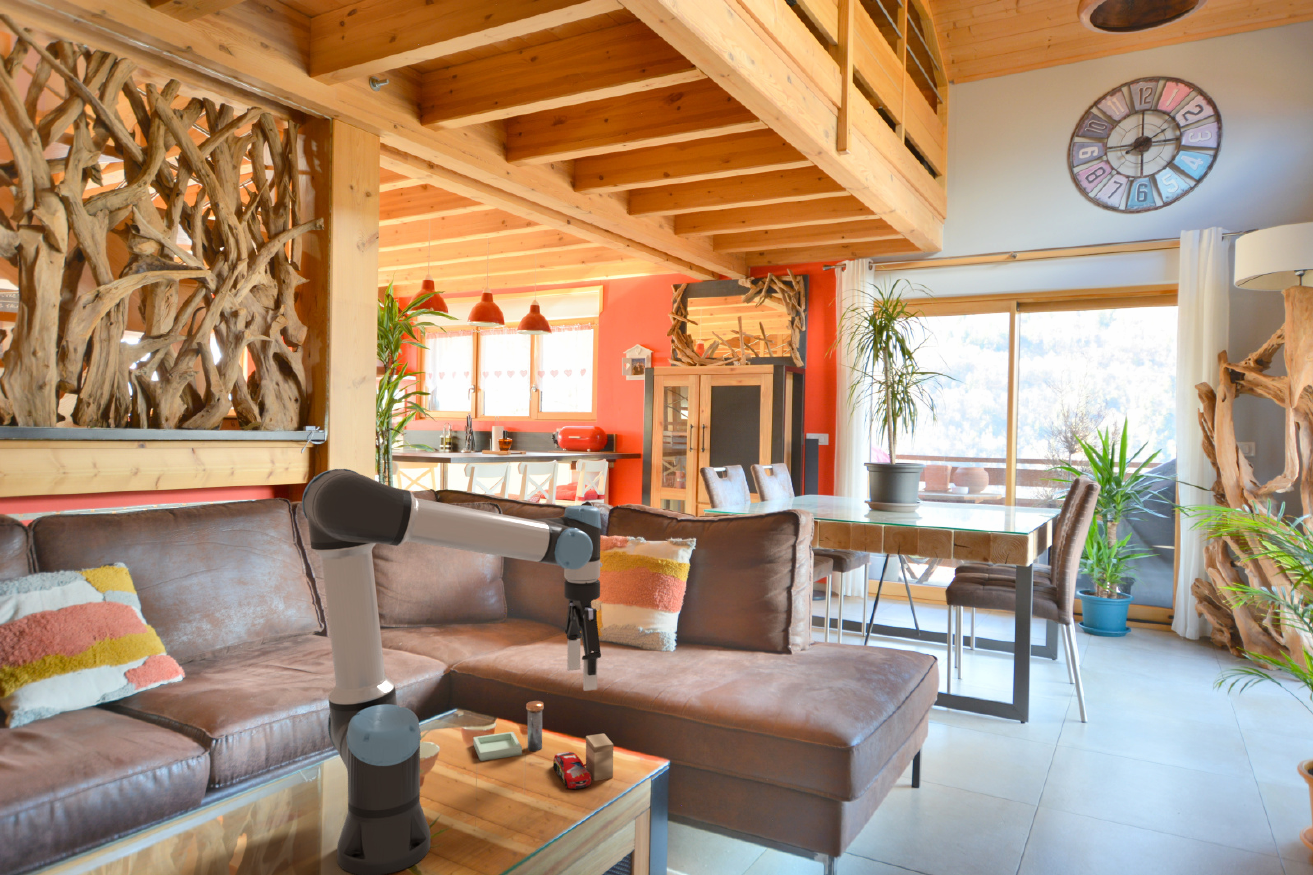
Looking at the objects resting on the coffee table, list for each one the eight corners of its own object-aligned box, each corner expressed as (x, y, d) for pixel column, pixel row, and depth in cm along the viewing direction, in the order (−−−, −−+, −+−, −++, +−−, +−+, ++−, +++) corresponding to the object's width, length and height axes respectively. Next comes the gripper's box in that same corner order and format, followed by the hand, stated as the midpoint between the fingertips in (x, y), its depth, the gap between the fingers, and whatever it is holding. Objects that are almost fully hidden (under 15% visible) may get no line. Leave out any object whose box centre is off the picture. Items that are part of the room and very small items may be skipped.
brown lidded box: (594, 781, 168) (594, 747, 168) (585, 768, 174) (585, 736, 174) (613, 777, 170) (613, 744, 170) (604, 765, 176) (604, 733, 175)
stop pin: (528, 752, 182) (528, 707, 181) (524, 746, 185) (524, 702, 185) (545, 750, 183) (545, 705, 183) (541, 743, 187) (541, 700, 186)
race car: (593, 789, 165) (594, 770, 165) (567, 794, 163) (567, 774, 163) (575, 762, 177) (575, 744, 177) (551, 766, 175) (551, 748, 175)
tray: (480, 761, 177) (480, 752, 177) (473, 745, 186) (473, 737, 185) (521, 754, 181) (521, 746, 180) (513, 739, 189) (513, 731, 189)
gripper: (616, 590, 163) (616, 696, 164) (584, 567, 187) (583, 660, 187) (580, 593, 161) (579, 701, 161) (551, 569, 184) (551, 663, 185)
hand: (581, 679), depth 174 cm, fingers open, 13 cm apart
